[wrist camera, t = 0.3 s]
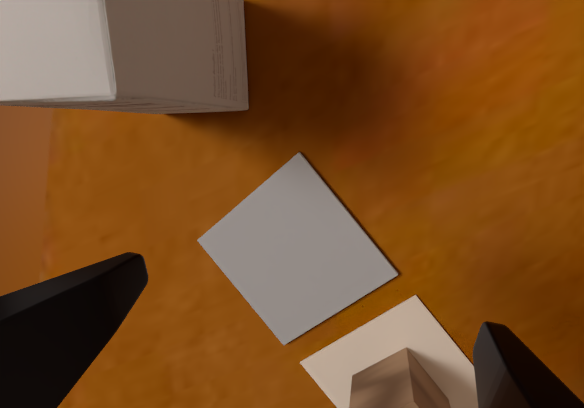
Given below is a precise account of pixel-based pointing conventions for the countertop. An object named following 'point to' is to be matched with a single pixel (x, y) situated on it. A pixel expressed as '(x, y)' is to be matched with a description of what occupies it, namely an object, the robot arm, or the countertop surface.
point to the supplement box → (124, 55)
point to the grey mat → (296, 251)
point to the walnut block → (396, 385)
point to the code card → (388, 340)
